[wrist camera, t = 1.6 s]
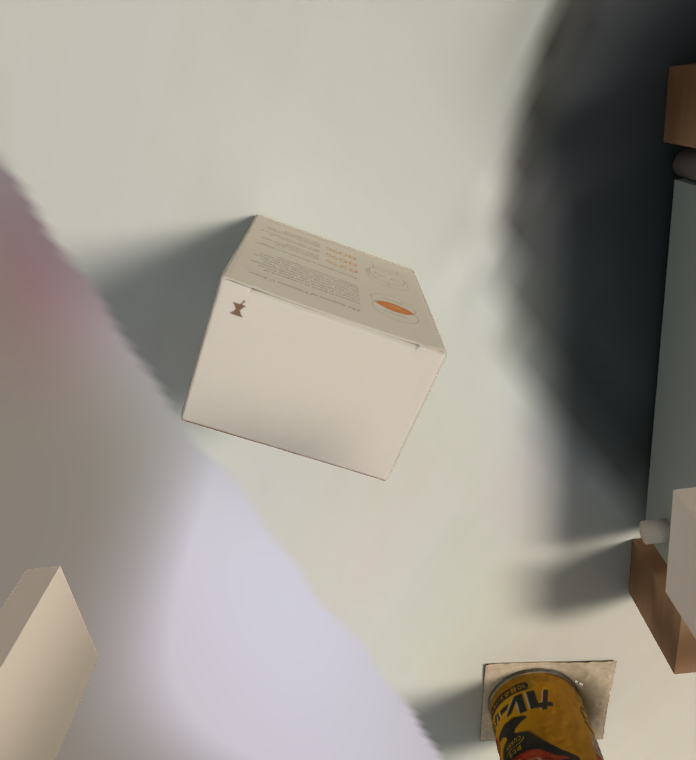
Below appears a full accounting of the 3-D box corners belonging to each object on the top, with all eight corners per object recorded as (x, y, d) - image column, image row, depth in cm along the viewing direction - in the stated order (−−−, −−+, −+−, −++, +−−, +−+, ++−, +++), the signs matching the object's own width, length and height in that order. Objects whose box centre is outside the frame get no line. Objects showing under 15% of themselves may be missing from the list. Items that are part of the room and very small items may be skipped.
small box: (223, 318, 32) (171, 421, 22) (256, 209, 30) (214, 272, 20) (375, 369, 33) (387, 488, 23) (417, 269, 31) (450, 355, 21)
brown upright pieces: (669, 66, 27) (750, 63, 22) (717, 59, 27) (812, 55, 22) (628, 591, 39) (674, 674, 34) (661, 588, 39) (713, 670, 34)
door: (645, 154, 28) (712, 170, 23) (701, 146, 28) (780, 161, 23) (620, 529, 37) (664, 600, 32) (663, 524, 37) (714, 596, 32)
